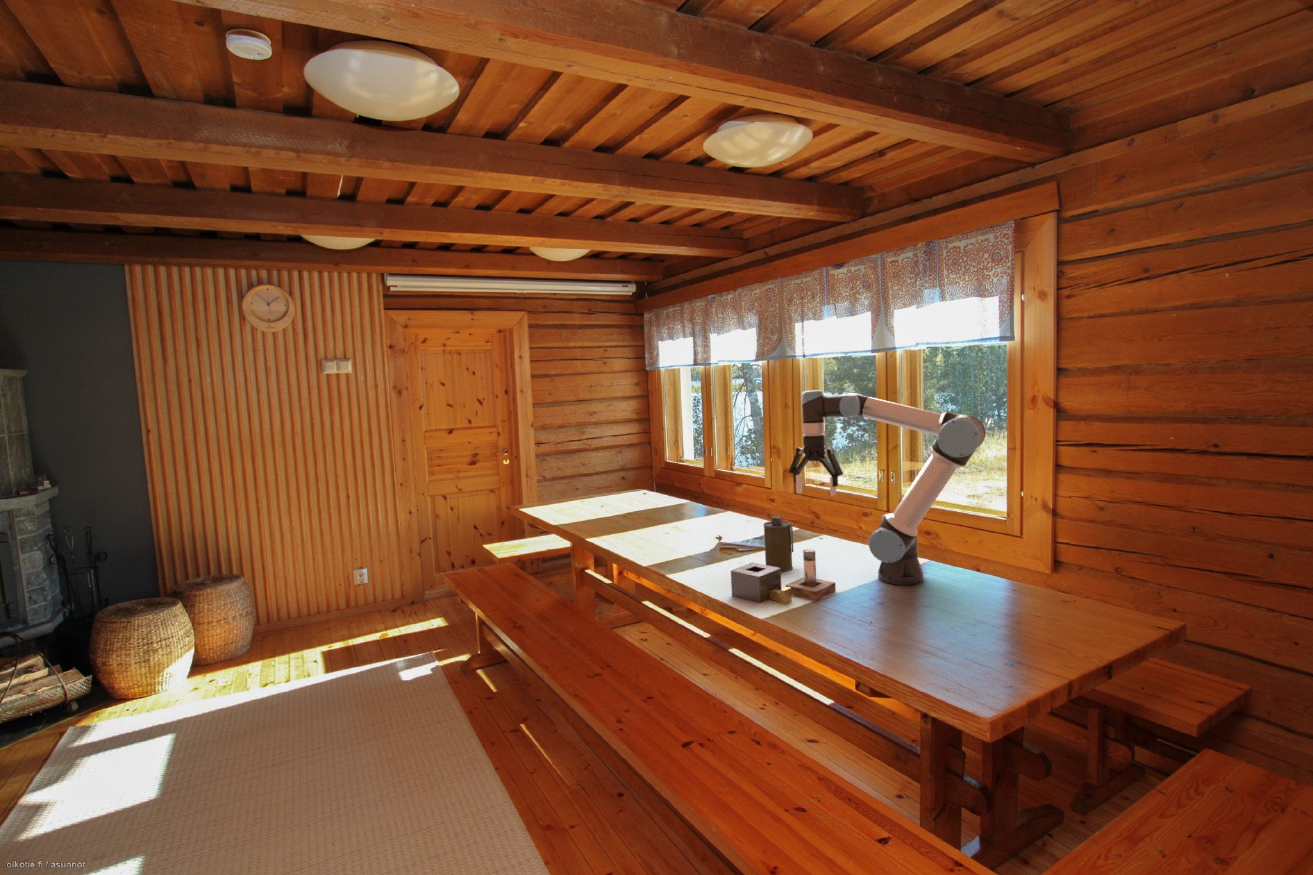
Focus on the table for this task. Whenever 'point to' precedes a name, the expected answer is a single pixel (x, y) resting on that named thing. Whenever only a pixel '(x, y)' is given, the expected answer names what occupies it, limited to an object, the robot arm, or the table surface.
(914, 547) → the robot arm
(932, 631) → the table surface
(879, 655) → the table surface
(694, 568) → the table surface
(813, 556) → the pink cylindrical peg
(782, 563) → the canister
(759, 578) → the socket block
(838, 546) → the table surface
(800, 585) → the brown flat square frame
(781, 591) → the yellow notched block
